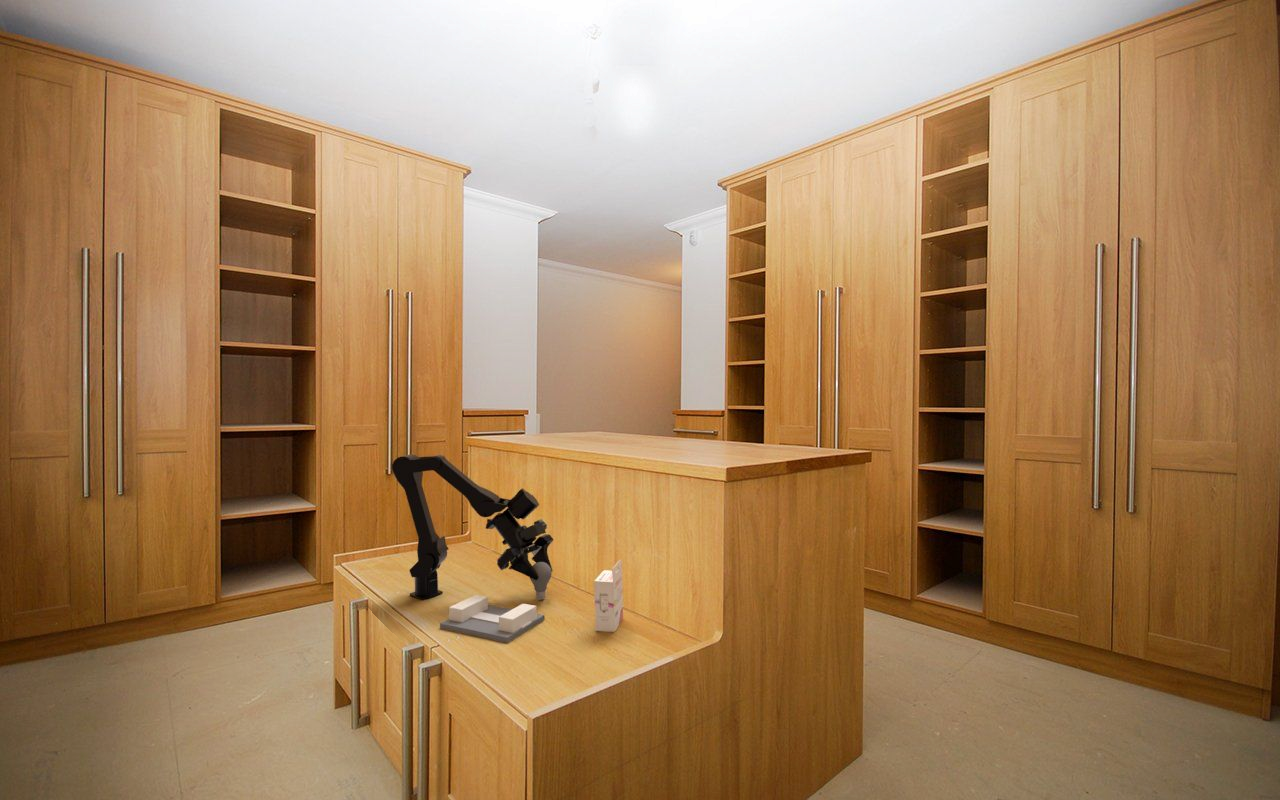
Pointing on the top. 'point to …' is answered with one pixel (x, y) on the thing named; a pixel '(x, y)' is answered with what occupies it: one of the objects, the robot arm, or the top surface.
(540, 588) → the light bulb
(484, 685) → the top surface
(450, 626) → the rail board
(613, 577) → the ink cartridge box
